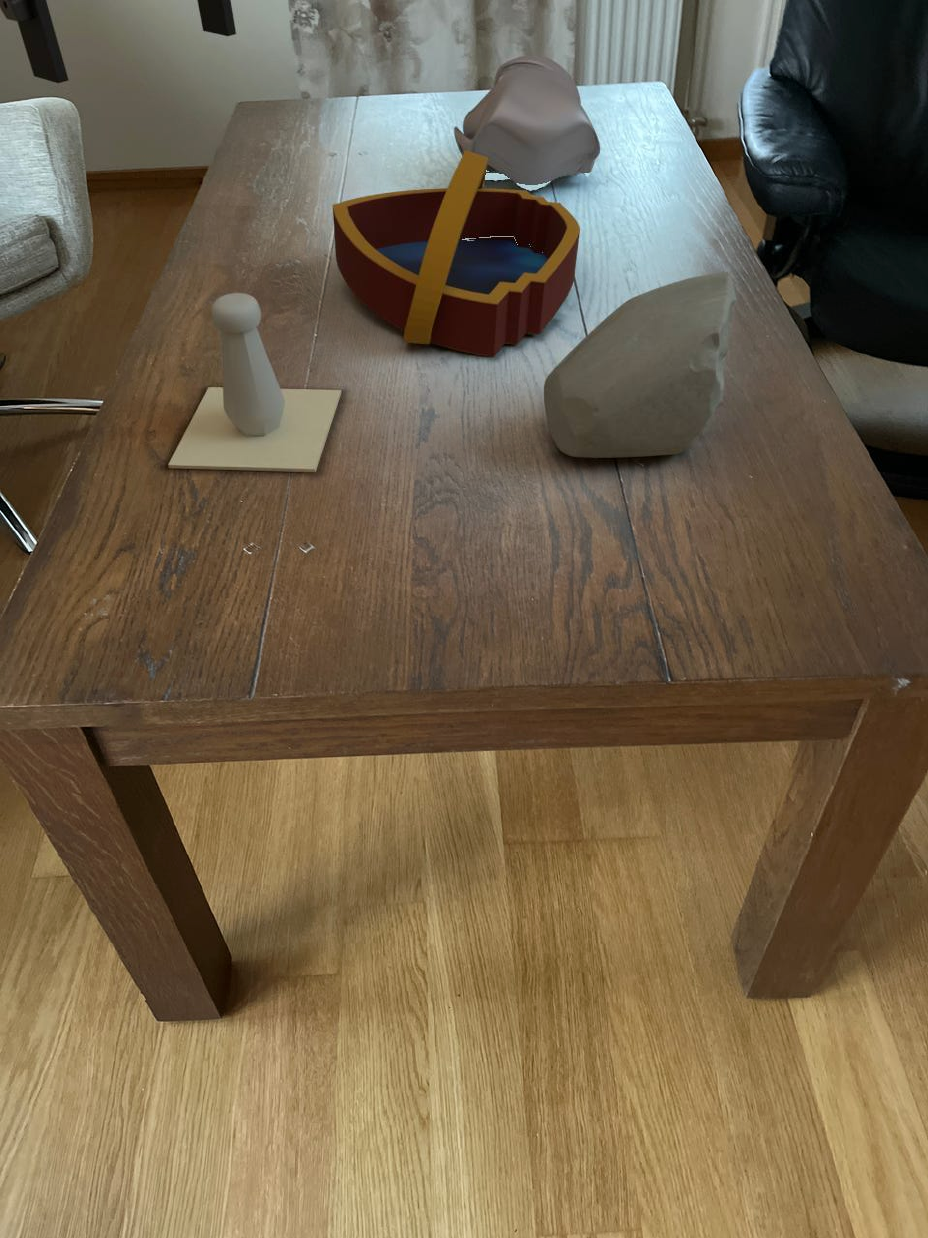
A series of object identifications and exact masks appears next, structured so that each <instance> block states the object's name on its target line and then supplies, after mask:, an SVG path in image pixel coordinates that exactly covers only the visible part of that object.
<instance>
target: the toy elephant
mask: <svg viewBox="0 0 928 1238" xmlns="http://www.w3.org/2000/svg"><path fill="white" fill-rule="evenodd" d="M581 101H582V100H581V96H580V92H579V89H578V86H577V84H576V82H575V81H574V79H573V77H572V76H571V75H570V73H569V72H568V71H567V70H566V69H565V68H564V67H563V66H562V65H560V64H559V63H558V62H556V61H555V60H553V59H551V58H549V57H546V56H543V55H536V54H535V55H534V54H532V55H531V54H530V55H529V54H528V55H521V56H517V57H515V58H512V59H510V60H508V61H506V62H504V63H502V64H501V65H500V66H499V67H498V69H497V71H496V73H495V76H494V81H493V86H492V87H491V89H490V90H489V91H488V92H487V93H486V94H485V95H484V96H483V97H482V99H481V100H480V101H479V102H478V103H477V104H476V105H475V106H474V107H473V108H472V109H471V110H469V111H468V112H467V113H466V115H465V116H464V118H463V122H462V130H460V128H459V127H458V126H454V127H453V135H454V139H455V143H456V146H457V149H458V151H459V153H460V155H461V157H462V156H463V154H464V152H465V150H467V151H470V152H473V153H476V154H479V155H482V156H484V157H487V158H488V163H487V169H486V170H487V171H489V172H486V173H499V174H504V175H505V176H507V177H508V178H510V179H509V180H512V181H513V182H514V183H515V182H516V183H519V184H525V185H538V184H543V183H547V182H549V181H551V180H553V179H554V180H557V179H559V177H560V178H564V177H568V176H567V175H569V176H574V175H573V174H578V175H579V174H584V173H590V172H591V173H592V171H593V168H594V165H595V162H596V160H597V159H598V157H599V156H600V154H601V143H600V139H599V137H598V134H597V131H596V130H595V127H594V125H593V123H592V121H591V120H590V118H589V116H588V113H587V112H586V110H585V109H584V108H583V106H582V102H581ZM591 173H590V174H591ZM563 176H564V177H563ZM554 180H553V181H554ZM516 183H515V184H516ZM522 191H526V190H525V189H522ZM528 192H530V191H529V190H528Z"/></svg>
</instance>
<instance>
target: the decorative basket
mask: <svg viewBox="0 0 928 1238" xmlns="http://www.w3.org/2000/svg"><path fill="white" fill-rule="evenodd" d="M487 163H488V158H487V157H484V156H482V155H479V154H476V153H473V152H470V151H467V150H465V152H464V154H463V156H462V155H461V158H460V161H459V163H458V165H457V167H456V169H455V171H454V172H453V175H452V177H451V180H450V182H449V184H448V186H447V187H442V188H441V187H439V188H423V189H422V188H421V189H408V190H397V191H390V192H383V193H376V194H370V195H365V196H361V197H357V198H352V199H347V200H345V201H341V202H338V203H334V204H332V219H333V220H332V221H333V235H334V250H335V251H334V252H335V253H334V254H335V261H336V265H337V268H338V270H339V273H340V275H341V276H342V278H343V280H344V282H345V284H346V285H347V287H349V289H350V290H351V292H352V293H353V294H354V296H355V297H356V298H357V299H358V300H359V301H360V302H361V303H362V304H364V306H366V307H367V308H368V309H369V310H370V311H371V312H373V313H374V314H376V315H377V316H378V317H380V318H381V319H383V320H385V321H387V323H389V324H391V325H392V326H394V327H396V328H398V329H399V330H401V331H403V341H404V343H408V344H419V345H429V344H435V345H437V346H440V347H443V348H447V349H451V350H455V351H459V352H463V353H467V354H474V355H479V356H484V357H490V358H491V357H492V358H493V357H495V356H496V355H497V354H498V352H499V351H500V350H501V349H502V348H503V347H504V345H505V344H507V345H515V346H516V345H518V344H519V343H520V342H521V340H522V339H523V338H524V336H525V335H526V334H527V335H530V334H531V335H537V336H539V335H541V333H542V332H543V331H544V329H545V328H546V327H547V325H548V324H549V323H550V322H551V321H552V320H553V318H554V316H555V315H556V314H557V312H558V311H559V310H560V309H561V306H562V305H563V304H564V303H565V301H566V299H567V297H568V295H569V293H570V291H571V289H572V287H573V285H574V282H575V274H576V266H577V259H578V249H579V242H580V235H581V227H580V225H579V222H578V221H577V219H576V218H575V217H574V215H573V214H572V213H571V212H570V211H569V210H568V209H567V208H566V207H565V206H564V205H563V204H562V203H561V202H555V201H554V202H553V201H548V200H547V199H546V198H545V197H544V196H537V195H536V196H535V195H532V194H531V193H530V191H526V190H523V189H511V188H509V189H508V188H490V187H484V185H485V181H486V180H485V175H486V169H487ZM490 236H514V237H515V239H516V241H515V239H514V237H491V238H479V237H490ZM465 238H476V239H469V240H474V241H467V240H462V239H465ZM516 242H517V243H516ZM517 244H518V245H517ZM529 244H530V245H529ZM530 246H531V247H530ZM542 252H543V253H542Z"/></svg>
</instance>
